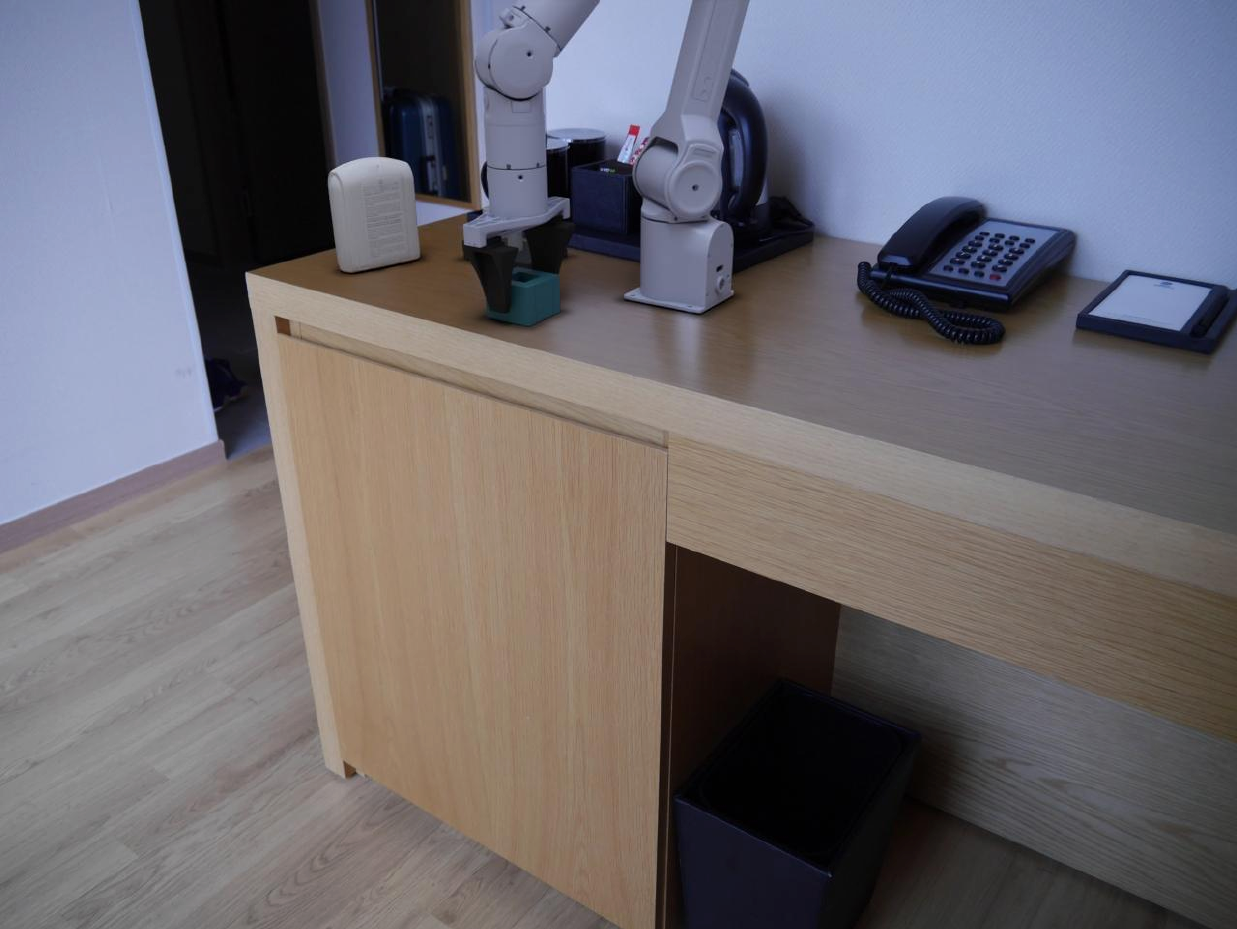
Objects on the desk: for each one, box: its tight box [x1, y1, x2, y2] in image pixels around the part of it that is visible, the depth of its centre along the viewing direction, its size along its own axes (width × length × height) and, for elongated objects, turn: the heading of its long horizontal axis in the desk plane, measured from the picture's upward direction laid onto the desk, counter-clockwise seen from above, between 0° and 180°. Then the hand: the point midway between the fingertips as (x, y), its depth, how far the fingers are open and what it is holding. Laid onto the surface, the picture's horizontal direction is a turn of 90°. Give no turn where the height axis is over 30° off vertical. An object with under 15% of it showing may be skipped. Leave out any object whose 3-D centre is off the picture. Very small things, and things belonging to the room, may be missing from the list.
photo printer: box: [327, 156, 421, 274], centre depth 113 cm, size 10×4×12 cm, turn 134°
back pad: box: [462, 231, 569, 269], centre depth 117 cm, size 10×8×6 cm
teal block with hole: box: [485, 267, 561, 327], centre depth 98 cm, size 5×5×4 cm
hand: (523, 301), depth 98 cm, fingers open, 7 cm apart
